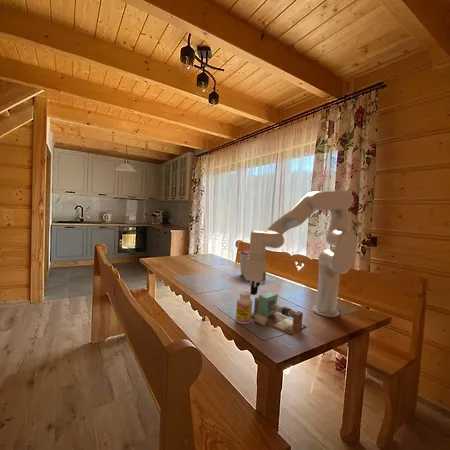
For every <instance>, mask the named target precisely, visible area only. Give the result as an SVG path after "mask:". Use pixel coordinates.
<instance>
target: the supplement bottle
mask: <svg viewBox="0 0 450 450" xmlns="http://www.w3.org/2000/svg"><path fill="white" fill-rule="evenodd" d="M251 296H252V295H251V291H246V290H242V291H239V297H238V298H237V299H236V308H235V309H236V310H235V321H236V322H237V323H239V324H242V325H247V324H249V323H251V320H252V317H251V313H252V312H253V311H252V310H253V300H252V298H251Z"/></svg>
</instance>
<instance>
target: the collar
mask: <svg viewBox="0 0 450 450" xmlns="http://www.w3.org/2000/svg"><path fill="white" fill-rule="evenodd" d="M278 296H279V295H278V293H275V292H273V291H269V292H266V293H263V294H260V295H258V297H259V302H258V314H260V315H262V316H265V317H268V316H270V315H272V314H274V313H277V311H275V310H272V309H270V308H268V302H272V303H274V304H277V305H278Z"/></svg>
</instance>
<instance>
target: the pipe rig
mask: <svg viewBox="0 0 450 450" xmlns="http://www.w3.org/2000/svg"><path fill="white" fill-rule="evenodd" d="M258 302H259V296H258V297H255V298H254V306H253V307H254V308H253V311H251V319H252V318H253V319H254V315H255V314H256V313H258ZM268 308H270V309H272V310H275V311H276V313H274V314H272V315H270V316H268V317H267V318H268V322H267V324H266V325H267V326H270V327H272V328H274V329H276V330H278V331H281V332H283V333H285V334H286V335H289V336H293V335H295V334H297V333H298V332H300V331H301V330H303V329H305V328H307V325H306V324H303V314H304V313H303V312H302V311H300V310H298V311H295V310H292V309H291V308H289V307H286V306H282V305H279V304H278V303H277V304H274V303H272V302H268ZM277 312H278V313H277ZM292 318H293V319H292Z"/></svg>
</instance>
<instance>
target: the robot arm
mask: <svg viewBox="0 0 450 450" xmlns="http://www.w3.org/2000/svg"><path fill="white" fill-rule="evenodd" d="M354 200H355V198H354V195H353V194H352V193H351V192H350V191H348V190H334V191H333V190H332V191H330V190H329V191H325V190H324V191H323V190H321V191H320V190H319V191H310V192H307V193H306V194H305V195H304V196H302V197H301V198H300V200H299V201H298V202H296V204H295V205H294V206H293V207H292V208H291V209H290V210H289V211H288V212H286V213H284V214H283V215H282V216H281V217H280V218H278V219H277V220H276V221H274V222H273V223H272V224H271V225H270V226H269V227H268V228H267V229H266V230H265V231H264V230H263V231H262V230H251V232H250V239H249V249H248V250H249V252H248V255H249V258H247V261H246V265H245V271H244V276H243V277H244V278H245V280H246V281H248V283H249V286H250V293H251V296H255V295H257V294H258V291H259V287H260V286H264V285H265V281H266V277H267V263H266V260H265V257H266V248H267V247H268V248H272V249H279V248H281V247H282V246H283V245H284V244H285V238H284V236H283V235H284V234H285V233H286V232H287V231H289V230H291V229H293V228H296V227H299V226H301V225H303V224H304V222H305V221H307V219H308V218H309V217H310V216H311V215H313V213H314V212H316V211H329V212H330V222H329V226H328V230H327V234H326V238H325V239H326V243H327V244H328V245H329V246H330V247H333V248H334V249H332V248H325V249H324V250H322V251H321V252H320V253H319V255H318V280H317V289H316V302H315V305H313V306H312V311H313V312H314V313H315V314H317V315H320V316H323V317H328V318H337V317H339V316H340V311H339V310H338V309H337V305H338V304H339V303H338V295H339V284H340V275H342V274H343V275H344V274H346V273H348V272H349V271H350V269H351V267H352V265H353V262H354V259H355V255H356V251H357V247H358V238H357V235H356V234H355V232H353V231H352V230H349V228H350V222H351V214H350V210H349V209H350V208H351V207H352V206H353V205H354Z"/></svg>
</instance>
